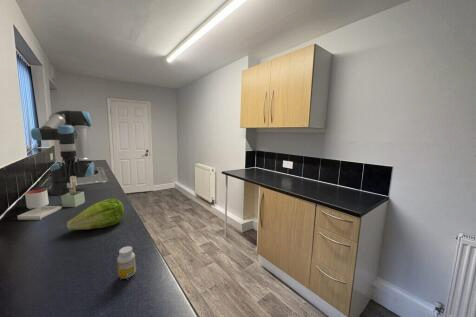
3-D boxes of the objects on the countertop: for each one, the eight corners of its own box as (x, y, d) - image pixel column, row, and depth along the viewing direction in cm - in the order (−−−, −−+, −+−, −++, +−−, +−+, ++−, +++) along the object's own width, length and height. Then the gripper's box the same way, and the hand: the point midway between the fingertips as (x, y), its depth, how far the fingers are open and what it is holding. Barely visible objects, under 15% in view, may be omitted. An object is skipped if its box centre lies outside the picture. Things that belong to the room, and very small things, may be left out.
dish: (42, 209, 124) (41, 205, 124) (61, 209, 124) (61, 206, 124) (18, 219, 110) (17, 215, 110) (40, 220, 110) (39, 215, 110)
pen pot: (72, 203, 135) (71, 191, 134) (85, 203, 135) (83, 191, 134) (62, 207, 127) (60, 195, 126) (75, 208, 127) (74, 195, 126)
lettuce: (65, 214, 102) (60, 209, 91) (118, 198, 118) (120, 192, 106) (72, 241, 100) (69, 240, 89) (126, 221, 115) (129, 217, 104)
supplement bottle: (123, 269, 73) (121, 245, 72) (138, 269, 73) (137, 244, 72) (115, 281, 68) (113, 254, 66) (132, 280, 68) (130, 254, 67)
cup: (53, 204, 133) (51, 189, 132) (36, 210, 123) (34, 194, 122) (39, 203, 134) (37, 188, 133) (22, 209, 124) (20, 193, 123)
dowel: (73, 199, 132) (70, 175, 130) (77, 199, 132) (75, 175, 130) (69, 201, 129) (66, 176, 127) (74, 201, 129) (71, 177, 127)
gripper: (72, 149, 134) (75, 183, 137) (50, 152, 118) (55, 190, 121) (83, 149, 134) (87, 183, 137) (63, 152, 118) (67, 190, 122)
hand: (72, 186), depth 129 cm, fingers closed on dowel, 3 cm apart
